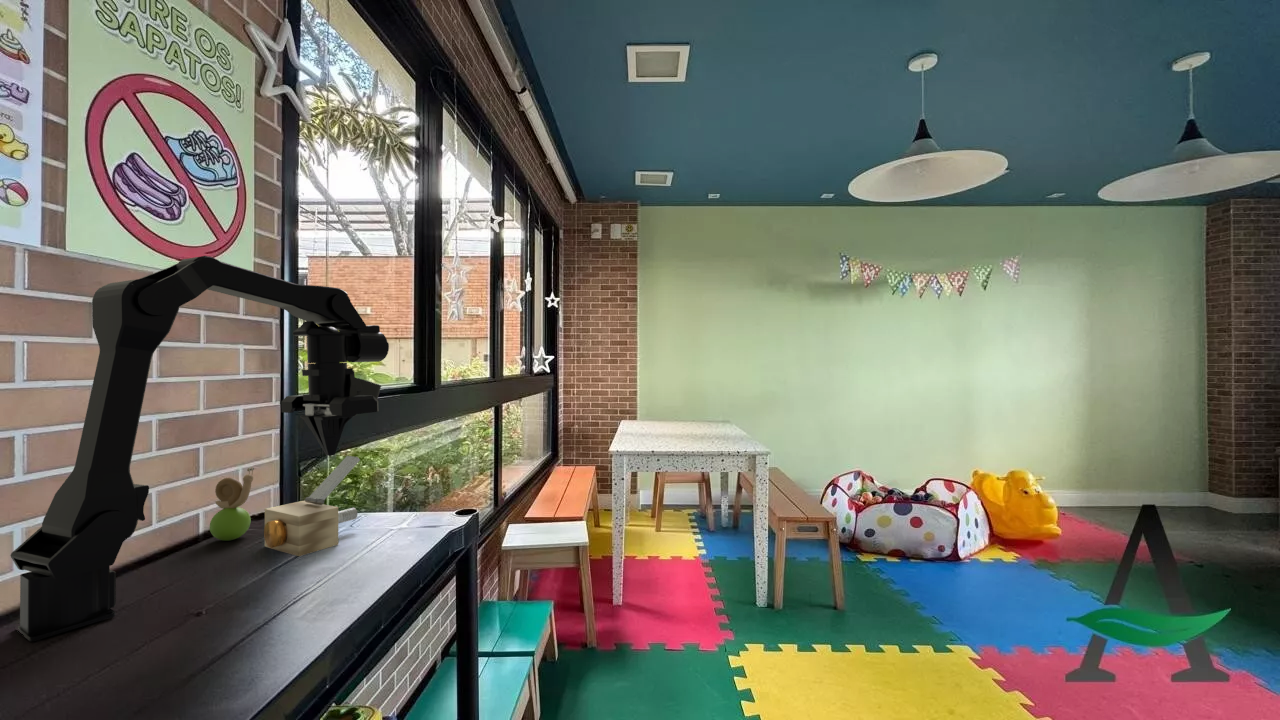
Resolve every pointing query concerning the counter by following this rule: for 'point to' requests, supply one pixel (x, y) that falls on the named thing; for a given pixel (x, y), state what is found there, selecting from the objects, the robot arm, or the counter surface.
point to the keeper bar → (332, 480)
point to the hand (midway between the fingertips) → (330, 455)
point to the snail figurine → (231, 508)
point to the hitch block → (305, 526)
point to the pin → (277, 529)
